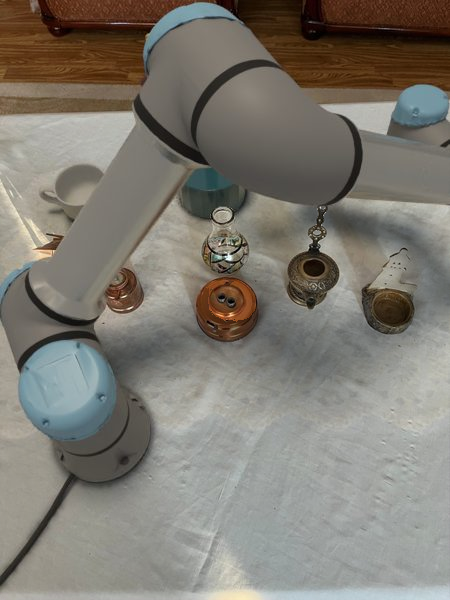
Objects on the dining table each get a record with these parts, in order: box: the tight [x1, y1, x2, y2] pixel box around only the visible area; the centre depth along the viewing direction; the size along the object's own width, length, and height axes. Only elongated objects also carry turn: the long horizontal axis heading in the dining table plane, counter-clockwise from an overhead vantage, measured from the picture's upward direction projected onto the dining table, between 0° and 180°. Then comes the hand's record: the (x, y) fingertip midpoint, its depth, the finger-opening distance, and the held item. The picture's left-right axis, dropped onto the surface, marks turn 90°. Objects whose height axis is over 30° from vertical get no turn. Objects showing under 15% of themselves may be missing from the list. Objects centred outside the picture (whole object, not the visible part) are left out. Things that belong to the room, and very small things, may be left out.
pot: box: [178, 185, 246, 220], centre depth 107 cm, size 14×14×8 cm
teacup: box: [38, 162, 106, 220], centre depth 106 cm, size 14×11×8 cm
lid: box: [184, 167, 236, 192], centre depth 100 cm, size 15×15×8 cm
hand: (226, 136), depth 96 cm, fingers open, 13 cm apart
